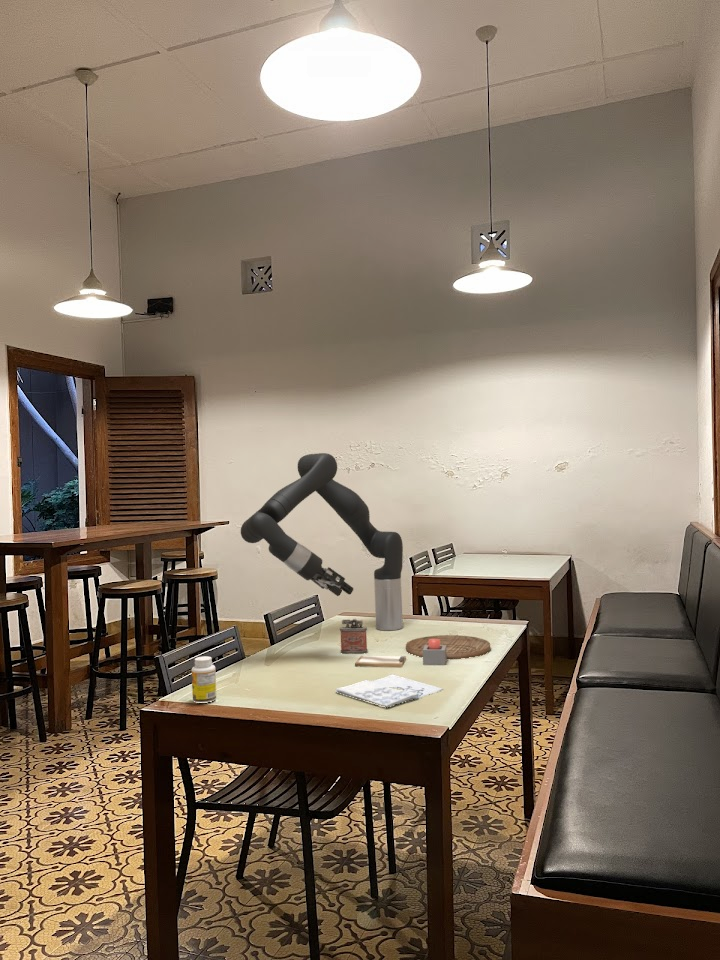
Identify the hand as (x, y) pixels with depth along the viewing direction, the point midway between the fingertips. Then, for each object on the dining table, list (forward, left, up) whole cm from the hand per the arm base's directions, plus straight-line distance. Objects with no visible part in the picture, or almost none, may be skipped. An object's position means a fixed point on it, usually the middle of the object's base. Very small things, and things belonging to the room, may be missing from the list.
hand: (345, 592), depth 214 cm
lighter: (-4, +1, -19) cm, 19 cm away
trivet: (-9, +28, -19) cm, 35 cm away
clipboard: (+8, +11, -18) cm, 23 cm away
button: (+6, +26, -16) cm, 31 cm away
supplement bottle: (+46, -25, -19) cm, 56 cm away
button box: (+6, +26, -18) cm, 33 cm away
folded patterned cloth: (+35, +18, -19) cm, 44 cm away
